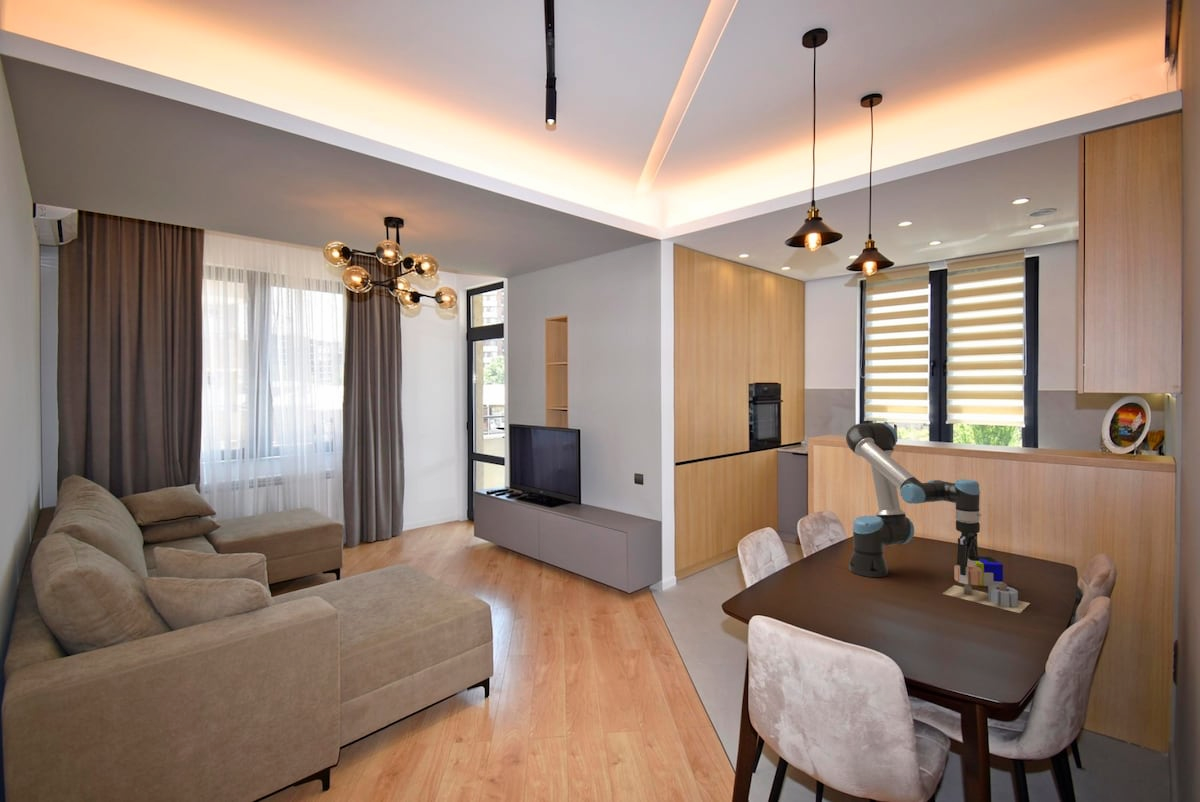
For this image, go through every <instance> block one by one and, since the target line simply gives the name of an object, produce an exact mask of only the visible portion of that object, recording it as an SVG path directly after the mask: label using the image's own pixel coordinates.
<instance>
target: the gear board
mask: <svg viewBox="0 0 1200 802" xmlns="http://www.w3.org/2000/svg"><path fill="white" fill-rule="evenodd" d="M972 586H973V585H971V584H964V583H963V586H960V585H955V584H954V585H952V586H951V587H949V588H948V589H946V590H945V591H943V592H941V593H942V594H943V595H946V596H950V597H953V598H954V597H955V598H957V599H961V600H966V601H969V602H974V603H978V604H980V605H981V604H983V605H986V606H989V607H993V608H998V609H1000V610H1005V611H1010V612H1014V613H1017V614H1021V613H1022V612H1023V611H1024V610H1025V609H1026V608H1027V607H1028V606H1029V605H1030V604H1031V603H1030V602H1026V601H1022V600H1019V599H1018V606H1017V607H1002V606H1000V605H995V604H992V603H991V602H989V600H988V592H986V591H981V590H976V589H972ZM1007 587H1008V585H1007V583H1006V582H1003V583H1002V582H999V590H1001V591H1007Z"/></svg>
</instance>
